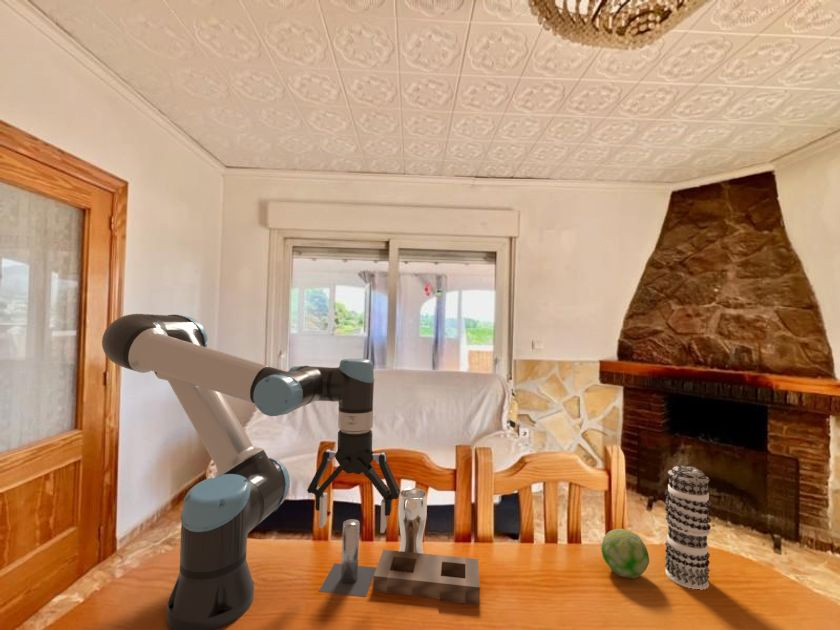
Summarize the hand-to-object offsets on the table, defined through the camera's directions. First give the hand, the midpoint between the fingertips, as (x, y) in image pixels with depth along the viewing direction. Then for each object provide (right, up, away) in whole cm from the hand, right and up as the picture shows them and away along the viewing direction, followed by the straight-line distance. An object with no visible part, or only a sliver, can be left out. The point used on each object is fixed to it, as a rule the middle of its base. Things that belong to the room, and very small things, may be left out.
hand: (352, 527), depth 88 cm
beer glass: (+12, -12, +10) cm, 20 cm away
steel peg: (-1, -11, 0) cm, 11 cm away
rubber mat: (-1, -12, 0) cm, 12 cm away
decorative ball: (+62, -14, +6) cm, 64 cm away
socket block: (+16, -12, 0) cm, 20 cm away
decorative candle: (+76, -15, +5) cm, 78 cm away
